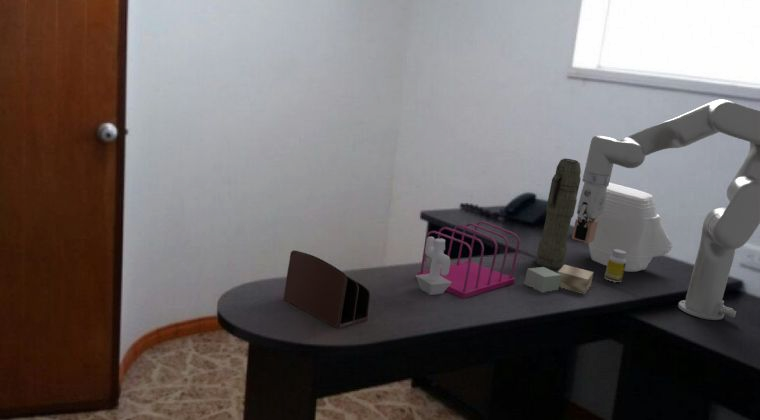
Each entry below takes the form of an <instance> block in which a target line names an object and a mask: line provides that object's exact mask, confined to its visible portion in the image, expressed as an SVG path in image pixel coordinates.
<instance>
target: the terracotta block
mask: <svg viewBox="0 0 760 420" xmlns="http://www.w3.org/2000/svg"><path fill="white" fill-rule="evenodd" d="M583 219H585V218H583ZM585 221H586V219H585ZM577 222H578V218H576V219H575V222H574V226H573V230H572V234H571V235H572V236H571V239H572V240H576V241H579V242H582V243H585V244H588V243H589V242H592V241H594V237H595V233H596V228H597V224H598V221H595V220H591V219H589V222H588V225H587V228H588V230H587V234H586V239H585V240H584V241H583V240H580V239H576V238H575V232H576V227H577Z"/></svg>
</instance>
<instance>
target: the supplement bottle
mask: <svg viewBox="0 0 760 420" xmlns="http://www.w3.org/2000/svg"><path fill="white" fill-rule="evenodd" d="M612 254H613V255H612V256H610V257H609V260H608V264H607V266H606V269H605V273H604V280H606V281H608V280H609V282H611V281H613V282H612V283H616V282H620V283H622V281H623V278H624V277H623V276H624V273H625V271H624V269H625V265H626V259H625V258H624V257H625V256H626V252H625V251H623V250H619V249H614V250H613V253H612Z"/></svg>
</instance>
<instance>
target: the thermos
mask: <svg viewBox="0 0 760 420" xmlns="http://www.w3.org/2000/svg"><path fill="white" fill-rule="evenodd" d="M581 173H582V171H581V163H580V162H579V161H578V160H575V159H570V158H561V159H560V160H559V162H558V163H557V165H556V170H555V174H554V175H553V177H552V178H551V183H550V189H549V192H548V196H547V197H548V199H547V201H546V203H547V204H546V209H545V210H546V216H545V219H544V221H545V222H544V226H543V229H542V230H543V231H542V235H541V239H540V240H539V242H538V246H537V250H536V251H537V252H536V259H535V263H536V264H537V265H538V266H540V267H545V268H547V269H553V270H554V269H555V270H557V269H558V270H560V269H561V268H562V267H563V265H564V264H563V263H564V261H565V258H566V253H567V249H568V248H567V240H568V236H569V231H570V226H571V222H572V221H571V220H572V218H573V217H574V214H575V209H576V205H577V200H578V199H577V198H578V193H579V187H580V184H581Z"/></svg>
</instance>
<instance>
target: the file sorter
mask: <svg viewBox="0 0 760 420" xmlns="http://www.w3.org/2000/svg"><path fill="white" fill-rule="evenodd" d="M480 224H485V225H487V226H489V227H493V228H495V229H497V230H500V231H503V232H505V233H508V234H510V235H513V236H514V238H516V247H515V248H516V249H515V253H514V258H513V262H512V264H511V265H512V266H511V270H510V274H509V275H507V274H504V269H505V264H506V259H507V255H508V249H509V241H508V239H507V237H506V236H505V235H504V234H501V233H499V232H496V231H493V230H490V229H488V228H485V227H483V226H480ZM469 226H472V227H474V228H471V227H469ZM459 227H460V228H463V231H460V230H457V229H458V228H459ZM478 229H480V230H483V231H486V232H489V233H491V234H493V235H495V236H499V237H501V238H502V239H503V240H504V241H505V248H504V249H505V250H504V254H503V259H502V264H501V267H500V272H499V271H497V270H494V267H495V263H496V257H497V254H498V249H499V248H498V247H499V246H498V242H497V240H495V238H493V237H491V236H489V235H487V234H485V233H482V232H480V231H478ZM444 230H447V231H450V232H452V233H451V235H450V236H449V235H447V234H444V233H442V231H444ZM466 230H468V231H471V232H473V235H470V234H467V233H466ZM455 233H456V234H458V235H462V236H461V239H458V238H455V237H454V236H455ZM431 234H436V235H437V238H436V239H441V237H445V238H447V239H449V240H450V242H449V248H448V250H447V254H446V255H447V256H449V257H450V256H451V251H452V246H453V242H458V243H460V245H459V251H458V257H457V262H456V263H453V264H450V268H449V273H448V275H446V276H444V275H441V270H440V276H442V277H444V278H445V279H447V280H449V281H451V282H452V283H451V284H450V286H449V287H448V288H447V289H446V290H445V291H446V292H448V293H451V294H453V295H456V296H457V297H460V298H462V299H467V298H468V297H473V296H475V295H479V294H483V293H485V292H489V291H492V290H496V289H499V288H503V287H507V286H509V285H513V284H515V280H516V279H515V277H513V275H514V271H515V265H516V261H517V257H518V253H519V248H520V243H521V242H520V237H518V236H519V235H517V234H516V233H515V232H513V231H510V230H507V229H506V228H502V227H500V226H497V225H495V224H492V223H490V222H487V221H484V220H482V221H478V222H477V223H467V224H466V225H463V224H458V225H456V226H455V227H454V228H450V227H447V226H444V227H441V228H439V230H438V231H437V230H431V231H429V232H427V234H426V236H425V241H424V246H423V252H422V253H423V254H422V260H421V266H420V271H419V272H417V273H416V275H422V274H429V273H430V269H428V270H424V266H425V259H426V254H425V248H426V242H427V238H428V237H430V235H431ZM476 234H477V235H480V236H482V237H485V238H486V239H489V240H491V241H492V242H493V244H494V246H495V247H494V254H493V258H492V262H491V265H490V266H491V267H486V266H484V265H483V264H482V263H483V258H484V251H485V247H484V243H483V242H482V240H481V239H480V238H477V237H476ZM465 237H467V238H470V239H472V240H471V245H470V244H469V243H468V242H466V241H465ZM475 241H477V242H479V244H480V246H481V250H480V251H481V252H480V257H479V264H478V263H477V262H473V261H472V256H473V249H474V244H475ZM464 245H465V246H466V247H467V248H468V250H469V255H468V259H467V260H465V261H461V255H462V252H463V251H462V250H463V246H464ZM460 261H461V262H460Z"/></svg>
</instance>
